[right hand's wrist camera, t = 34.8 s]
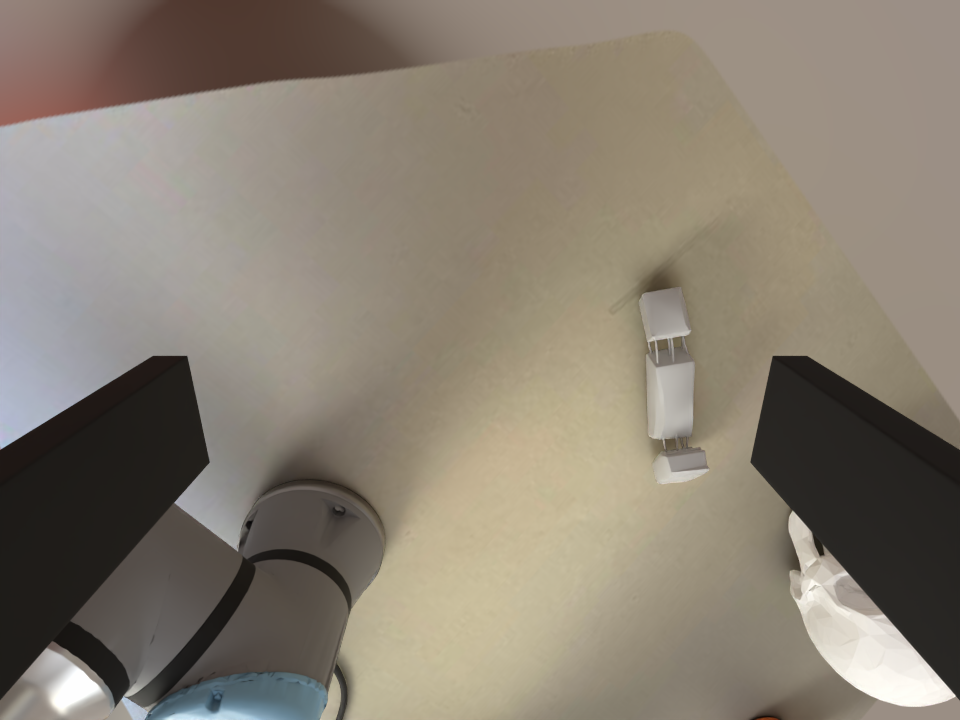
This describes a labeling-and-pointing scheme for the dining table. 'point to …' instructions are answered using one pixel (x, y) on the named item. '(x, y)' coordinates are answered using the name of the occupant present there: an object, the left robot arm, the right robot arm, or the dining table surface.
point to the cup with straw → (767, 718)
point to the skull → (857, 630)
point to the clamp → (670, 385)
